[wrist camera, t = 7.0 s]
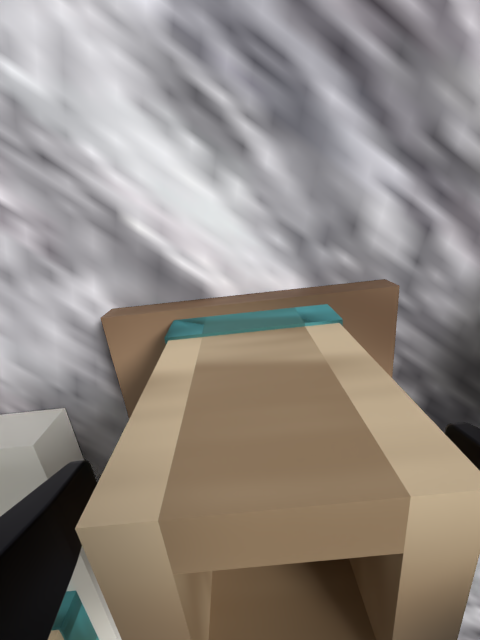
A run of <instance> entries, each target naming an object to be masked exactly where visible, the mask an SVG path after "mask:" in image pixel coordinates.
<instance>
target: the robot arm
mask: <svg viewBox="0 0 480 640" xmlns="http://www.w3.org/2000/svg"><path fill="white" fill-rule="evenodd" d="M445 435H446V436H447V437H448V438H449V439H450V440H451V441H452V442H453V443H454V444H455V445H456V446H457V447H458V448H459V449H460V451H461V452H462V453H463V454H464V455H465V456H466V457H467V458H468V459H469V460H470V461H471V462H472V463H473V464H474V465H475V466H476V467H477V468H478V470H479V471H480V428H477V427H475V426H473V425H471V424H469V423H464V422H462V423H452V424H448V425H447V427H446V429H445ZM96 485H97V482H96V479H95V476H94V474H93V471H92V468H91V465H90V463H89V462H88V461H86V460H81V461H72V462H70V463H68V464H67V465H65V466H64V467H63V468H61V469H60V470H59V471H58V472H56V473H55V474H54V475H53V476H51V477H50V478H49V479H47V480H46V481H45V482H44V483H42V484H41V485H40V486H39V487H37V488H36V489H35V490H33V491H32V492H31V493H30V494H28V495H27V496H26V497H25V498H23V499H22V500H21V501H19V502H18V503H17V504H16V505H14V506H13V507H12V508H11V509H9V510H8V511H7V512H5V513H4V514H3V515H2V516H0V640H48V638H49V635H50V633H51V630H52V627H53V625H54V622H55V619H56V617H57V614H58V612H59V609H60V606H61V604H62V601H63V599H64V596H65V593H66V591H67V588H68V585H69V583H70V580H71V578H72V575H73V572H74V569H75V567H76V564H77V561H78V558H79V554H80V551H81V548H82V544H81V542H80V539H79V537H78V535H77V532H76V530H75V528H76V526H77V524H78V521H79V519H80V517H81V515H82V513H83V511H84V509H85V507H86V505H87V503H88V501H89V499H90V497H91V495H92V493H93V491H94V489H95V487H96Z"/></svg>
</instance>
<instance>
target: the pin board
mask: <svg viewBox="0 0 480 640" xmlns="http://www.w3.org/2000/svg"><path fill="white" fill-rule="evenodd" d="M398 297H399V285H396V284H394V283H392V282H390V281H388V280H385V279H384V280H374V281H365V282H356V283H347V284H338V285H328V286H319V287H310V288H301V289H291V290H282V291H273V292H264V293H254V294H245V295H236V296H227V297H218V298H208V299H199V300H190V301H181V302H171V303H162V304H153V305H144V306H135V307H125V308H116V309H111V310H110V311H109V312H108V313H106V314H105V315H104V316H103V317H101V321H102V325H103V328H104V332H105V335H106V339H107V342H108V346H109V349H110V353H111V357H112V360H113V364H114V367H115V371H116V374H117V378H118V381H119V385H120V388H121V392H122V395H123V399H124V402H125V406H126V409H127V413H128V416H129V419H130V417H131V415H132V413H133V411H134V409H135V407H136V405H137V403H138V401H139V399H140V397H141V395H142V393H143V391H144V389H145V387H146V385H147V383H148V381H149V379H150V377H151V375H152V373H153V371H154V369H155V366H156V364H157V362H158V360H159V358H160V356H161V354H162V352H163V350H164V348H165V346H166V344H165V339H164V337H165V336H166V334H167V332H168V330H169V328H170V326H171V325H172V323H173V321H174V320H180V319H189V318H199V317H208V316H218V315H228V314H237V313H247V312H256V311H266V310H275V309H285V308H294V307H304V306H313V305H323V304H328V305H329V306H330V307H331V308H332V309H333V310H334V311H335V312H336V313H337V314H338V315H339V316H340V317H341V318H342V319H343V327H344V328H345V329H346V330H347V331H348V332H349V334H350V335H351V336H352V337H353V338H354V339H355V340H356V341H357V342H358V343H359V344H360V345H361V346H362V347H363V348H364V349H365V350H366V351H367V353H368V354H369V355H370V356H371V357H372V358H373V359H374V360H375V361H376V362H377V363H378V364H379V365H380V366H381V367H382V368H383V369H384V370H385V371H386V373H387V374H388V375H389V376H390V377H391V378H392V372H393V360H394V347H395V335H396V322H397V310H398Z"/></svg>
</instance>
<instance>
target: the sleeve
mask: <svg viewBox="0 0 480 640" xmlns="http://www.w3.org/2000/svg"><path fill="white" fill-rule="evenodd" d="M48 640H99V638H98V636H97V634H96V632H95V629H94V627H93V625H92V623H91V621H90V619H89V617H88V615H87V612H86V610H85V608H84V606H83V604H82V602H81V600H80V598H79V596H78V593H77V591H66V593H65V596H64V599H63V601H62V604H61V606H60V609H59V612H58V614H57V617H56V619H55V622H54V625H53V627H52V630H51V633H50V635H49V638H48Z"/></svg>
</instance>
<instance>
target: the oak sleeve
mask: <svg viewBox="0 0 480 640" xmlns="http://www.w3.org/2000/svg"><path fill="white" fill-rule="evenodd" d="M164 339H165V344H166V346H165V348H164V350H163V352H162V354H161V356H160V358H159V360H158V362H157V364H156V366H155V369H154V371H153V373H152V375H151V377H150V379H149V381H148V383H147V385H146V387H145V389H144V391H143V393H142V395H141V397H140V399H139V401H138V403H137V405H136V407H135V409H134V411H133V413H132V415H131V417H130V419H129V421H128V423H127V425H126V427H125V429H124V431H123V433H122V435H121V437H120V439H119V441H118V443H117V445H116V447H115V449H114V451H113V453H112V455H111V457H110V459H109V461H108V463H107V465H106V467H105V469H104V471H103V473H102V475H101V477H100V479H99V481H98V483H97V485H96V487H95V489H94V491H93V493H92V495H91V497H90V499H89V501H88V503H87V505H86V507H85V509H84V511H83V513H82V515H81V517H80V519H79V521H78V524H77V526H76V528H75V530H76V532H77V535H78V537H79V539H80V542H81V544H82V546H83V549H84V551H85V554H86V556H87V558H88V561H89V563H90V565H91V568H92V570H93V573H94V575H95V577H96V580H97V582H98V584H99V587H100V589H101V592H102V594H103V596H104V599H105V601H106V603H107V606H108V608H109V610H110V613H111V615H112V618H113V620H114V622H115V625H116V627H117V629H118V632H119V634H120V637H121V639H122V640H457V638H458V634H459V631H460V627H461V623H462V619H463V615H464V611H465V608H466V604H467V600H468V596H469V592H470V588H471V585H472V581H473V577H474V573H475V569H476V565H477V561H478V558H479V554H480V471H479V470H478V468H477V467H476V466H475V465H474V464H473V463H472V462H471V461H470V460H469V459H468V458H467V457H466V456H465V455H464V454H463V453H462V452H461V451H460V449H459V448H458V447H457V446H456V445H455V444H454V443H453V442H452V441H451V440H450V439H449V438H448V437H447V436H446V435H445V434H444V433H443V432H442V431H441V429H440V428H439V427H438V426H437V425H436V424H435V423H434V422H433V421H432V420H431V419H430V418H429V417H428V416H427V415H426V414H425V413H424V412H423V410H422V409H421V408H420V407H419V406H418V405H417V404H416V403H415V402H414V401H413V400H412V399H411V398H410V397H409V396H408V395H407V394H406V393H405V392H404V390H403V389H402V388H401V387H400V386H399V385H398V384H397V383H396V382H395V381H394V380H393V379H392V378H391V377H390V376H389V375H388V374H387V373H386V371H385V370H384V369H383V368H382V367H381V366H380V365H379V364H378V363H377V362H376V361H375V360H374V359H373V358H372V357H371V356H370V355H369V354H368V353H367V351H366V350H365V349H364V348H363V347H362V346H361V345H360V344H359V343H358V342H357V341H356V340H355V339H354V338H353V337H352V336H351V335H350V334H349V332H348V331H347V330H346V329H345V328H344V327H343V319H342V318H341V317H340V316H339V315H338V314H337V313H336V312H335V311H334V310H333V309H332V308H331V307H330V306H329V305H328V304H323V305H313V306H304V307H294V308H285V309H275V310H266V311H256V312H247V313H237V314H228V315H218V316H208V317H199V318H189V319H180V320H174V321H173V323H172V325H171V326H170V328H169V330H168V332H167V334H166V336H165V337H164Z"/></svg>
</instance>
